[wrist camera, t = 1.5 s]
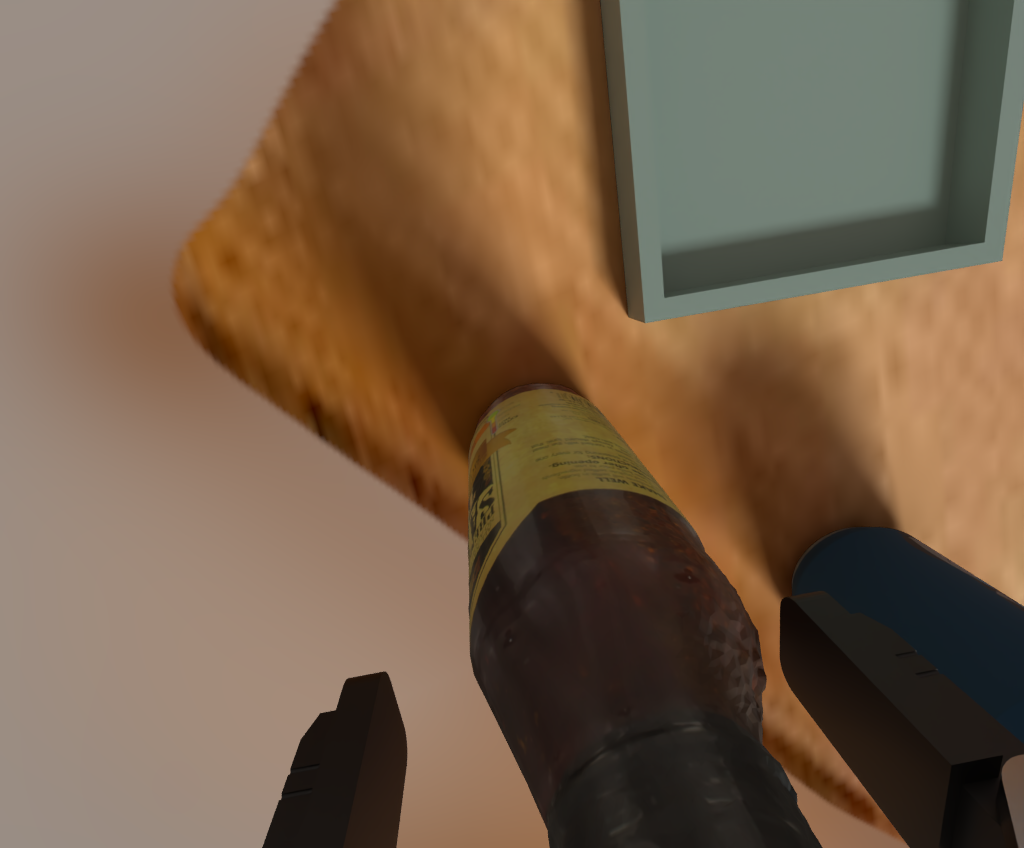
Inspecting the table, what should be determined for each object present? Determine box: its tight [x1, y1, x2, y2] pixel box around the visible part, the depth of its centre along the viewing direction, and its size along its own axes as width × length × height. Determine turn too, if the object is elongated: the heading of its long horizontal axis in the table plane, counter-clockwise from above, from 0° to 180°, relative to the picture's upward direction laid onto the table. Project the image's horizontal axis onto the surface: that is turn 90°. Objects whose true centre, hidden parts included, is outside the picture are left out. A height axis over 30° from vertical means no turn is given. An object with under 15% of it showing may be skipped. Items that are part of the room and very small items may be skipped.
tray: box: [600, 0, 1024, 323], centre depth 18 cm, size 14×14×2 cm
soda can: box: [792, 527, 1024, 744], centre depth 20 cm, size 7×7×12 cm
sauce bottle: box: [468, 383, 822, 848], centre depth 13 cm, size 7×6×20 cm
